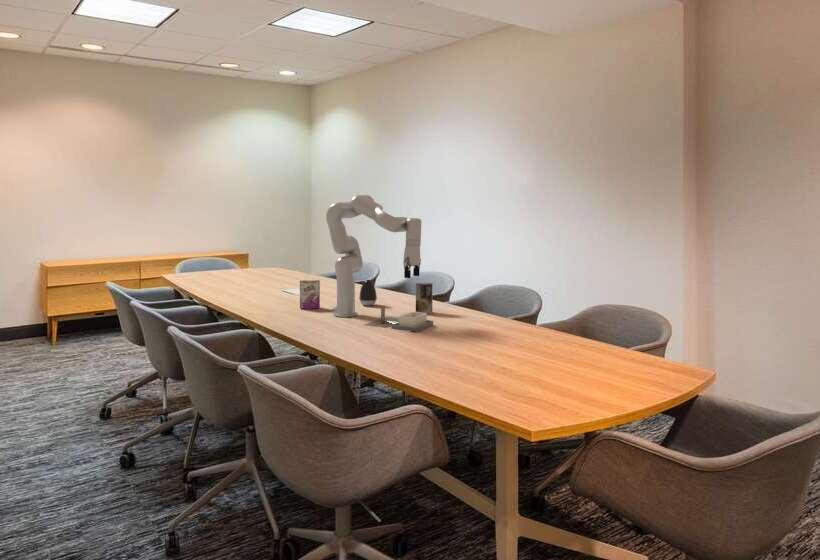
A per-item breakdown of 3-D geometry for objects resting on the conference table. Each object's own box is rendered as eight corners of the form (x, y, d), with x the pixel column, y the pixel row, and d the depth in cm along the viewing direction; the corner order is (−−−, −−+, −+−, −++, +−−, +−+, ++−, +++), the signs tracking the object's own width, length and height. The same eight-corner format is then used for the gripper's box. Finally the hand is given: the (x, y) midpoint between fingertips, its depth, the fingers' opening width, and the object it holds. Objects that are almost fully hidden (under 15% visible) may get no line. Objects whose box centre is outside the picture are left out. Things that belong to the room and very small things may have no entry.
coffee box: (432, 311, 337) (433, 283, 335) (431, 314, 331) (432, 284, 329) (416, 311, 338) (416, 282, 336) (415, 313, 332) (415, 284, 330)
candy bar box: (299, 309, 343) (299, 280, 341) (300, 307, 348) (299, 279, 345) (320, 308, 344) (319, 280, 342) (320, 307, 349) (319, 279, 347)
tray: (391, 329, 291) (391, 325, 291) (408, 322, 308) (409, 318, 308) (416, 332, 285) (416, 327, 285) (433, 325, 302) (433, 320, 302)
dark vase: (357, 304, 361) (357, 278, 358) (375, 303, 363) (375, 278, 361) (360, 307, 351) (360, 280, 349) (378, 306, 353) (378, 280, 351)
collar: (398, 327, 293) (398, 316, 292) (411, 322, 305) (411, 311, 305) (414, 329, 289) (414, 318, 288) (426, 324, 302) (426, 313, 301)
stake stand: (362, 326, 298) (362, 310, 297) (379, 320, 313) (379, 304, 312) (386, 329, 292) (386, 312, 291) (402, 322, 308) (402, 307, 307)
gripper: (414, 241, 313) (413, 274, 315) (398, 243, 297) (397, 278, 300) (427, 242, 309) (426, 275, 312) (411, 244, 294) (410, 279, 297)
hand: (411, 276), depth 306 cm, fingers open, 9 cm apart
